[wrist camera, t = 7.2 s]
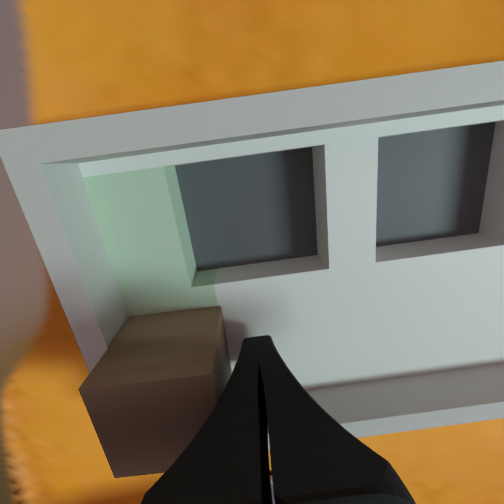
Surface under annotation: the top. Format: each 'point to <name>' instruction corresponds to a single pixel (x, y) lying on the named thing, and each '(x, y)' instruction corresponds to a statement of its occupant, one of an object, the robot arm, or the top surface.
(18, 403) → the top surface
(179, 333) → the walnut block
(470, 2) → the top surface
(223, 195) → the tray
